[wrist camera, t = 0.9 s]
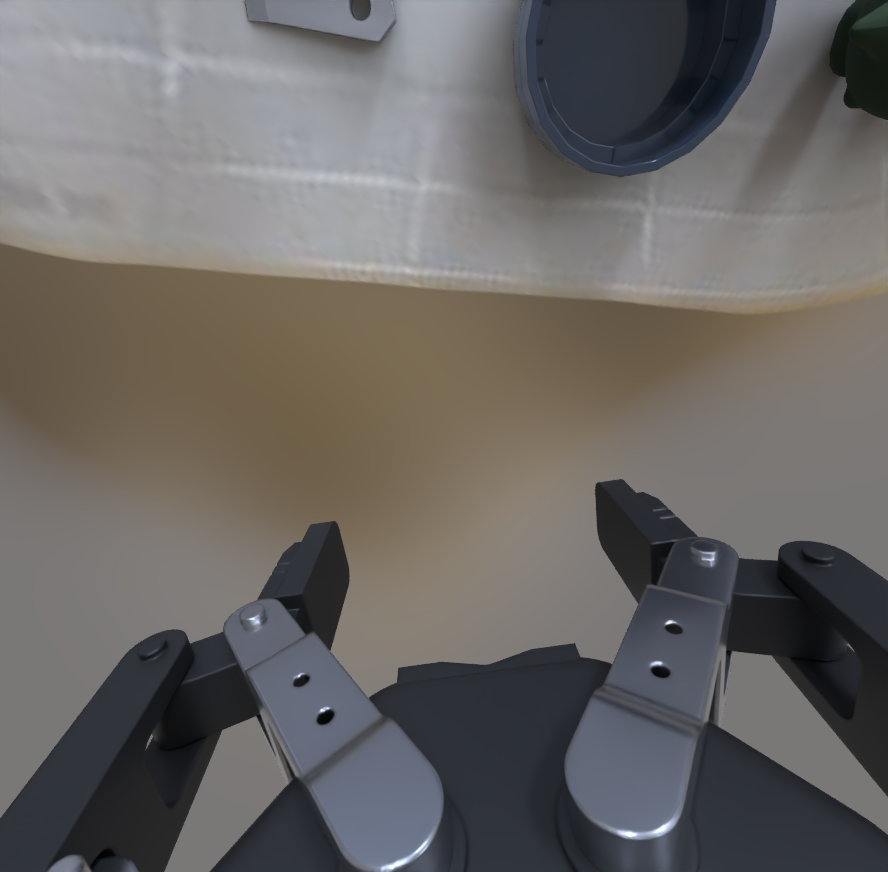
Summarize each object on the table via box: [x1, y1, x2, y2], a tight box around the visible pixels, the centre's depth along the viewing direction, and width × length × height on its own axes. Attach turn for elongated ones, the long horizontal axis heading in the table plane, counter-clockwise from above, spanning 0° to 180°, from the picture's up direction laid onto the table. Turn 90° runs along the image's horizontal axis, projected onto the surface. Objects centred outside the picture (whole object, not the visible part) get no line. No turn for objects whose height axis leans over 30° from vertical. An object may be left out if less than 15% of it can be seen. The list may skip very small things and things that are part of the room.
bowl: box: [513, 0, 777, 177], centre depth 29 cm, size 14×14×6 cm
